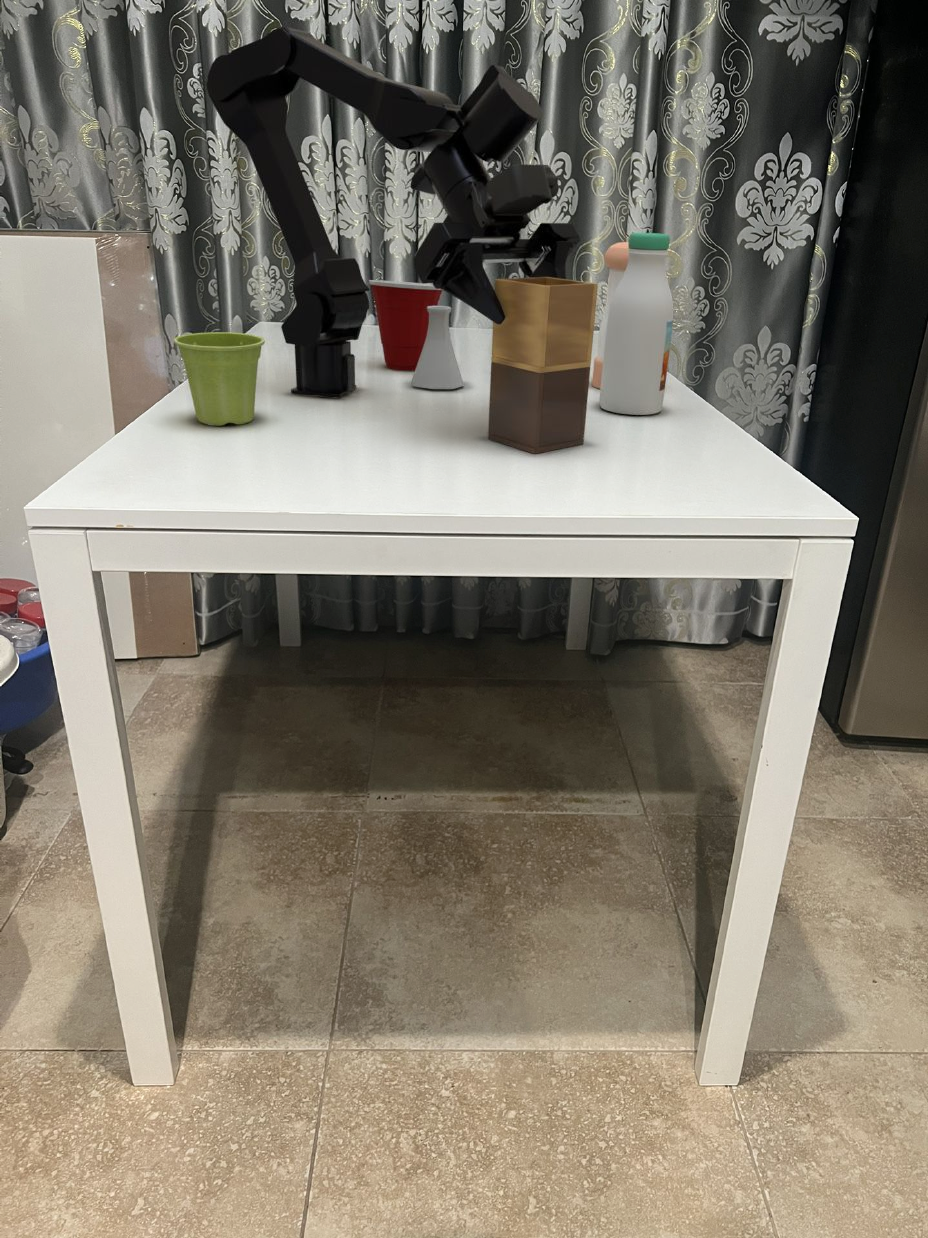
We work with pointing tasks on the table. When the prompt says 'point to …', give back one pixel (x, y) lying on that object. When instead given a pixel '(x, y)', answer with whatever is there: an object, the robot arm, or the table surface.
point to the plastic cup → (403, 320)
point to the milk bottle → (639, 331)
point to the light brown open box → (544, 323)
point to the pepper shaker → (610, 299)
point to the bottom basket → (537, 408)
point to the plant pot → (221, 374)
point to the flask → (438, 354)
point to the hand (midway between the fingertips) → (535, 318)
